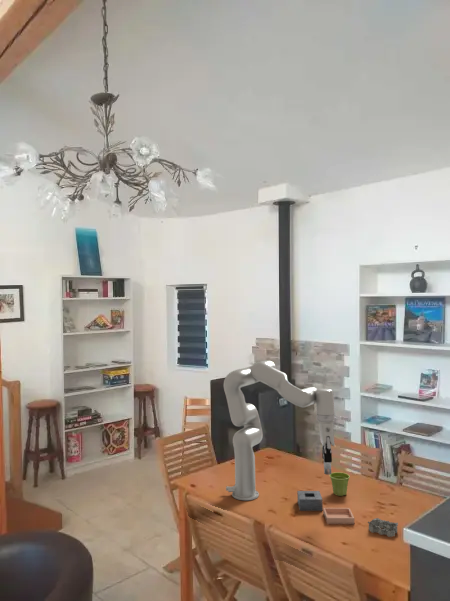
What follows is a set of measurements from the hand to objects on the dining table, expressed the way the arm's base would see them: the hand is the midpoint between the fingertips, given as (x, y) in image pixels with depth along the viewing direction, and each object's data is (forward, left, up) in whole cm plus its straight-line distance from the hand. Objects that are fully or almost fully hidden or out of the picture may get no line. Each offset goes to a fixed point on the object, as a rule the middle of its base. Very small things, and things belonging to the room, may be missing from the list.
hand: (327, 460), depth 215 cm
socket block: (-7, +8, -23) cm, 26 cm away
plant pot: (+9, +23, -23) cm, 34 cm away
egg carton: (+19, -16, -24) cm, 34 cm away
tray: (+4, -5, -23) cm, 24 cm away
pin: (0, 0, -6) cm, 6 cm away
